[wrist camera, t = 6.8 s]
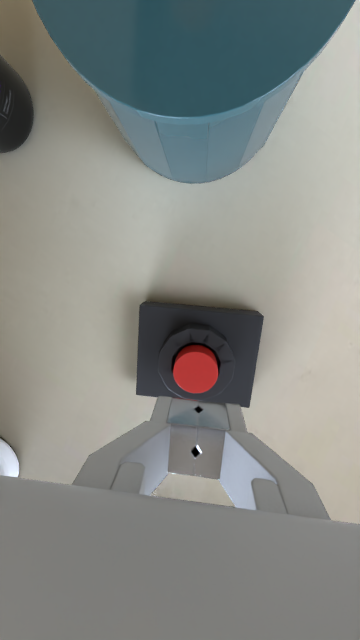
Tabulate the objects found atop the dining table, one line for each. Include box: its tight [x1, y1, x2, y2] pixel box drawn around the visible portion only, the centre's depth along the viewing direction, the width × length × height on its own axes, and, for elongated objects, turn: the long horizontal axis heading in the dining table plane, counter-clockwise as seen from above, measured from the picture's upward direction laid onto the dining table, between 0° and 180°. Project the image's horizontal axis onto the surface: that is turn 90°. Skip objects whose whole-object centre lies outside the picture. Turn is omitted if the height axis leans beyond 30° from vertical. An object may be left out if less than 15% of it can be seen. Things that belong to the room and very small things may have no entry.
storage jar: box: [94, 73, 303, 183], centre depth 15 cm, size 14×14×10 cm
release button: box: [173, 345, 218, 393], centre depth 21 cm, size 4×4×2 cm
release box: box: [136, 301, 264, 408], centre depth 23 cm, size 11×9×4 cm
